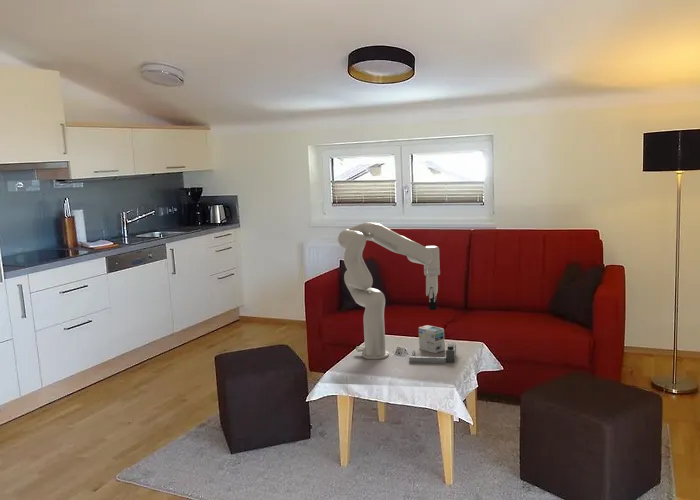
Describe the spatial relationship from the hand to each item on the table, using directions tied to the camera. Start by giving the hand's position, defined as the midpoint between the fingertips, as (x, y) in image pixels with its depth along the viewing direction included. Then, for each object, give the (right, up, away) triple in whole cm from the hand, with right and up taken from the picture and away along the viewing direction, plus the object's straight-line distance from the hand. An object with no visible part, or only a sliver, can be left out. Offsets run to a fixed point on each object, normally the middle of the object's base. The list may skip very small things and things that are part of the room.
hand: (433, 308), depth 301 cm
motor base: (-3, -20, -20) cm, 29 cm away
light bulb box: (-2, -19, -8) cm, 21 cm away
